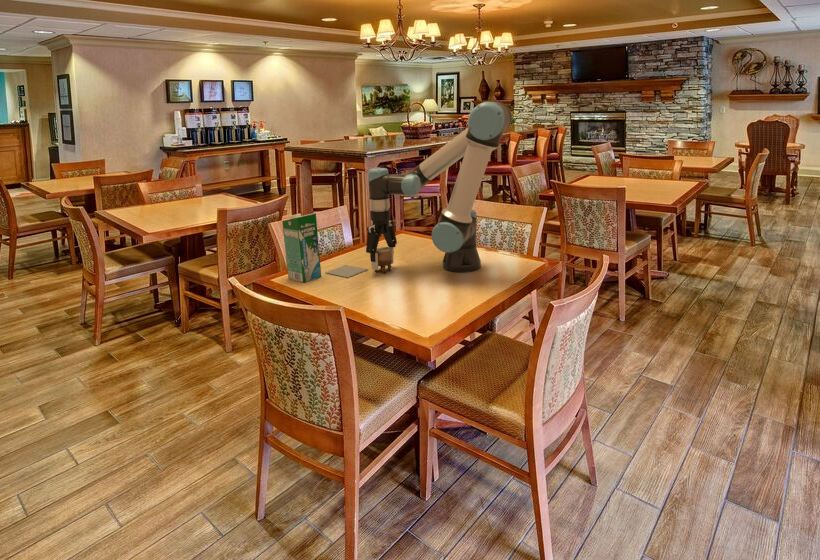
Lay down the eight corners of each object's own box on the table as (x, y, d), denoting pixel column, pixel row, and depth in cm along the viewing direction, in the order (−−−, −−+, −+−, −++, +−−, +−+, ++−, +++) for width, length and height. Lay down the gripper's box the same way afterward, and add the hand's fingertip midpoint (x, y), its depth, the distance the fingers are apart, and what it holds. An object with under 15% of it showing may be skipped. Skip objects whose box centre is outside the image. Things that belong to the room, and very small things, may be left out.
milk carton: (306, 272, 223) (300, 210, 215) (321, 276, 217) (316, 212, 210) (288, 278, 216) (281, 214, 208) (303, 283, 211) (297, 217, 203)
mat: (368, 270, 224) (368, 269, 224) (347, 278, 214) (347, 277, 214) (345, 265, 230) (345, 264, 230) (325, 273, 221) (325, 272, 221)
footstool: (395, 269, 222) (394, 248, 220) (384, 274, 217) (383, 252, 214) (381, 267, 226) (380, 246, 224) (370, 271, 221) (369, 250, 218)
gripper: (389, 203, 225) (392, 258, 232) (353, 213, 208) (357, 271, 215) (404, 205, 220) (406, 260, 227) (369, 215, 204) (372, 274, 211)
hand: (382, 266), depth 221 cm, fingers open, 9 cm apart
